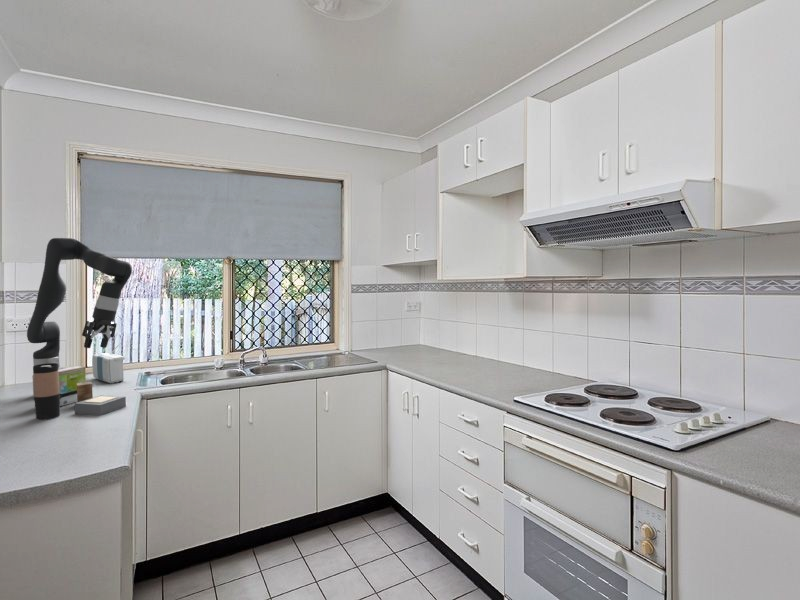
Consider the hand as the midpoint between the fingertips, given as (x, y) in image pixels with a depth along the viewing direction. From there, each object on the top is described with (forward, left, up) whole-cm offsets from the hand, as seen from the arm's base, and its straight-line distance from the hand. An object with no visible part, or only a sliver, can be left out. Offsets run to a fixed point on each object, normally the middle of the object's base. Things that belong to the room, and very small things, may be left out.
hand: (95, 347), depth 178 cm
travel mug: (-11, -11, -25) cm, 30 cm away
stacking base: (+1, +1, -25) cm, 25 cm away
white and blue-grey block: (-40, +46, -25) cm, 66 cm away
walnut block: (-12, +6, -25) cm, 29 cm away
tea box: (-24, +6, -25) cm, 36 cm away
